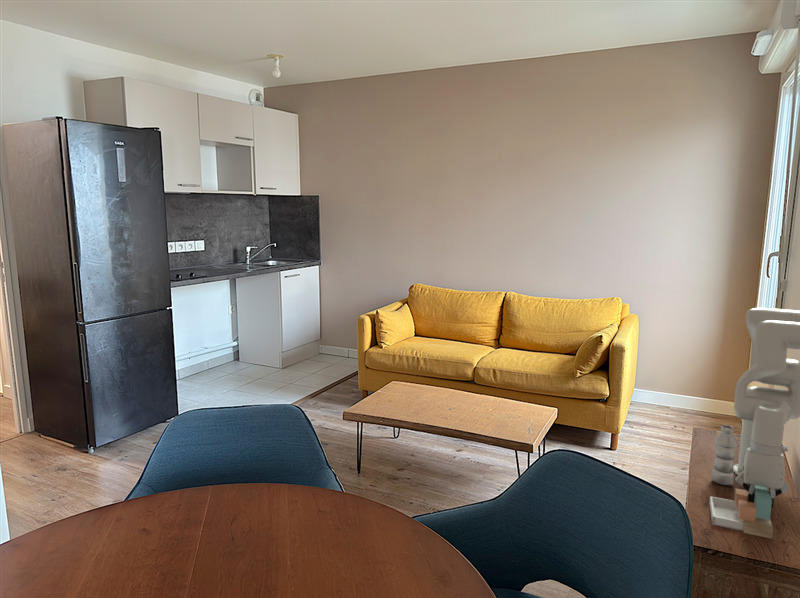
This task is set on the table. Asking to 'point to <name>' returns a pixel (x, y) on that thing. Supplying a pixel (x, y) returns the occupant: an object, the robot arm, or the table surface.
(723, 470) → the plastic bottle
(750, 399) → the robot arm
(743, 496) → the tan cube
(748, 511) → the peach cube
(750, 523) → the beige gold flat block
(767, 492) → the bar
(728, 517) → the tray
